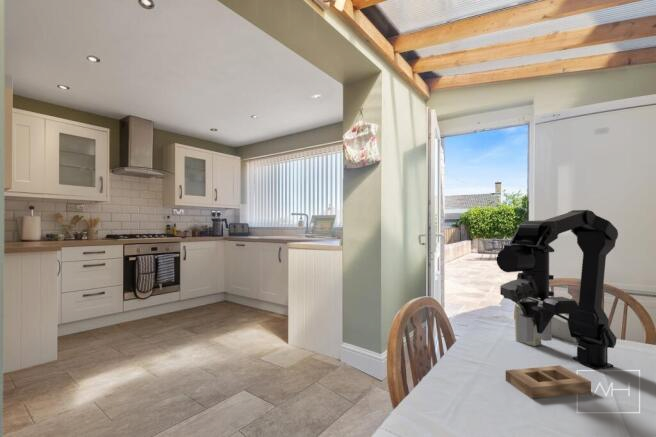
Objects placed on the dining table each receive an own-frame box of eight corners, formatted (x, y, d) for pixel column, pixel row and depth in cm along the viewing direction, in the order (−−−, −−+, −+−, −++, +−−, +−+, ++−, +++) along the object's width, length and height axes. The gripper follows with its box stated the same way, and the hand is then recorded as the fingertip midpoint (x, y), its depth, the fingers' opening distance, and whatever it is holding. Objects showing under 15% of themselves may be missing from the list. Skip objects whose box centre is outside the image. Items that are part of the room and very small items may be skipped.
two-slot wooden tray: (559, 374, 80) (559, 365, 80) (591, 391, 72) (591, 381, 72) (505, 380, 77) (505, 370, 77) (531, 398, 69) (531, 387, 69)
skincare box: (541, 344, 99) (541, 306, 99) (534, 347, 97) (534, 308, 97) (521, 337, 105) (520, 302, 105) (514, 340, 102) (514, 304, 102)
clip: (543, 336, 79) (543, 313, 79) (551, 340, 77) (551, 316, 77) (518, 337, 78) (519, 314, 78) (526, 341, 76) (526, 317, 76)
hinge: (583, 340, 102) (577, 313, 101) (575, 347, 101) (569, 320, 99) (533, 324, 118) (527, 301, 116) (525, 330, 116) (519, 306, 115)
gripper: (482, 265, 86) (482, 320, 86) (537, 277, 67) (537, 348, 67) (518, 264, 87) (518, 318, 87) (581, 276, 69) (581, 345, 69)
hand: (535, 331), depth 78 cm, fingers closed on clip, 2 cm apart
